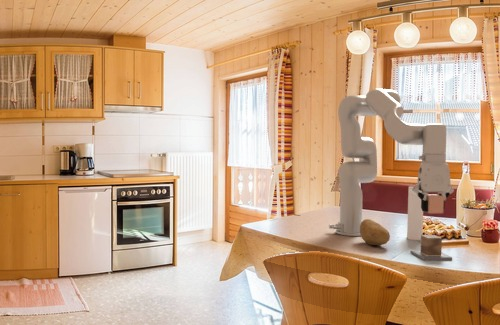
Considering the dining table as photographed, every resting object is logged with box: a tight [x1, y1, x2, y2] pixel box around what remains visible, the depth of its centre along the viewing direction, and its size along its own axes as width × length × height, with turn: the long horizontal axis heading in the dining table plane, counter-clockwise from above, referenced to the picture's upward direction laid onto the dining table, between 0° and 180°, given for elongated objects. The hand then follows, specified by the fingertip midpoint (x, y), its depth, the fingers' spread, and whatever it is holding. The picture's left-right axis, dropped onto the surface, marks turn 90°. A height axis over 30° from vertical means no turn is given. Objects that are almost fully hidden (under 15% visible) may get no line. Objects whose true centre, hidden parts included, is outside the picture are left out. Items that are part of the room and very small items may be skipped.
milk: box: [406, 185, 424, 242], centre depth 183 cm, size 6×6×22 cm
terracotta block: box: [423, 193, 445, 214], centre depth 153 cm, size 5×5×6 cm
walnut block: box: [420, 234, 443, 255], centre depth 154 cm, size 5×5×6 cm
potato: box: [360, 218, 391, 246], centre depth 170 cm, size 9×16×9 cm, turn 10°
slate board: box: [410, 249, 453, 261], centre depth 154 cm, size 10×10×1 cm
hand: (432, 210), depth 153 cm, fingers closed on terracotta block, 5 cm apart
